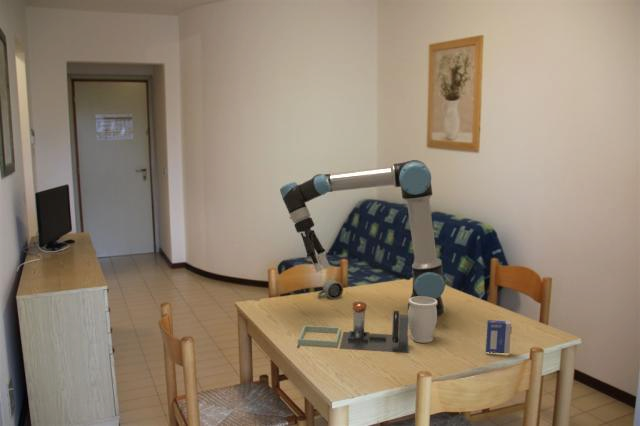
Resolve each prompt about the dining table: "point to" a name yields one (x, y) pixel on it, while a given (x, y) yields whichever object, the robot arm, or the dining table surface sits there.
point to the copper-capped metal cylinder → (359, 319)
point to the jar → (422, 318)
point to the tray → (319, 342)
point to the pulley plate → (381, 338)
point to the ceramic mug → (331, 290)
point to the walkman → (498, 336)
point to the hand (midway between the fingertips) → (323, 269)
